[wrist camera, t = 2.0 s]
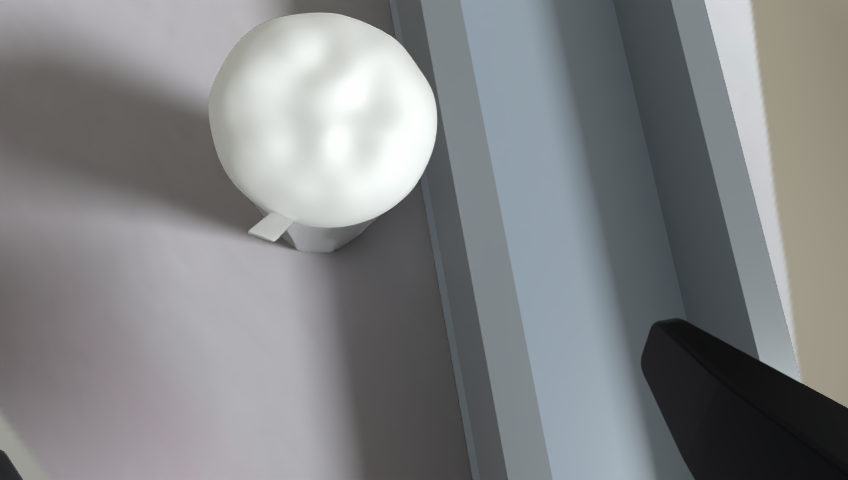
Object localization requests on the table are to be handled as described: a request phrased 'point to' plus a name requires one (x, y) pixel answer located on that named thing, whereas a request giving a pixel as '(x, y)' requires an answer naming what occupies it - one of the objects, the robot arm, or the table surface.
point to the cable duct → (583, 223)
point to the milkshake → (321, 126)
